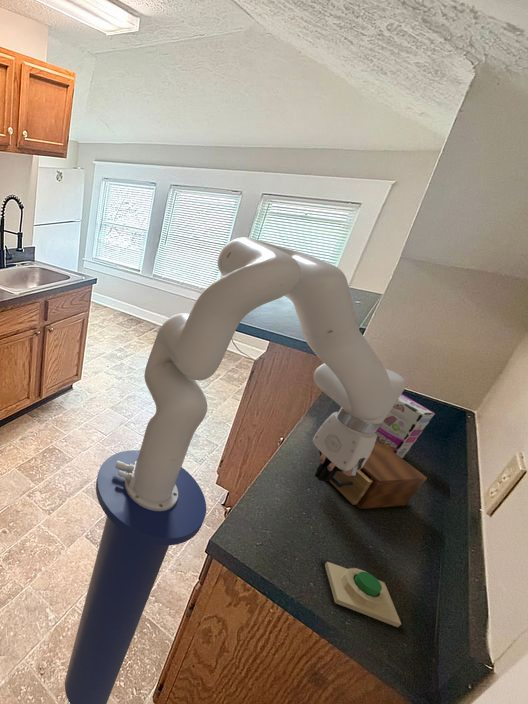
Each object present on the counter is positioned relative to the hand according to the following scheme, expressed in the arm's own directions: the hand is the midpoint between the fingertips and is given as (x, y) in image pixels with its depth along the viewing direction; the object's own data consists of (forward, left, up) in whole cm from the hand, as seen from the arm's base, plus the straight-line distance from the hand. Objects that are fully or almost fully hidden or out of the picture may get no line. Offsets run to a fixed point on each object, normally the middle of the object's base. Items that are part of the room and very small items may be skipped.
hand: (322, 477), depth 93 cm
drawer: (+9, +5, -4) cm, 11 cm away
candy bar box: (+24, +30, -5) cm, 39 cm away
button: (+3, -26, -2) cm, 26 cm away
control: (+3, -26, -5) cm, 26 cm away
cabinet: (+13, +7, -5) cm, 15 cm away
